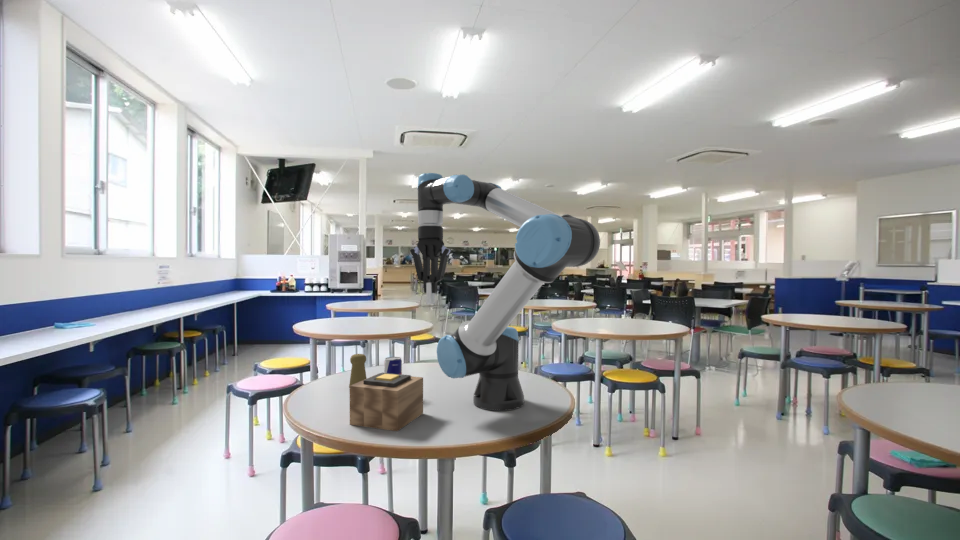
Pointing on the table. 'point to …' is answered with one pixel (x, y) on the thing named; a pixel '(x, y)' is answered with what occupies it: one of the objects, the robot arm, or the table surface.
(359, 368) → the cork
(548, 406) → the table surface
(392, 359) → the energy drink
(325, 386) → the table surface
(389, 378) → the peg
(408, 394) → the socket block
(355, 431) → the table surface
